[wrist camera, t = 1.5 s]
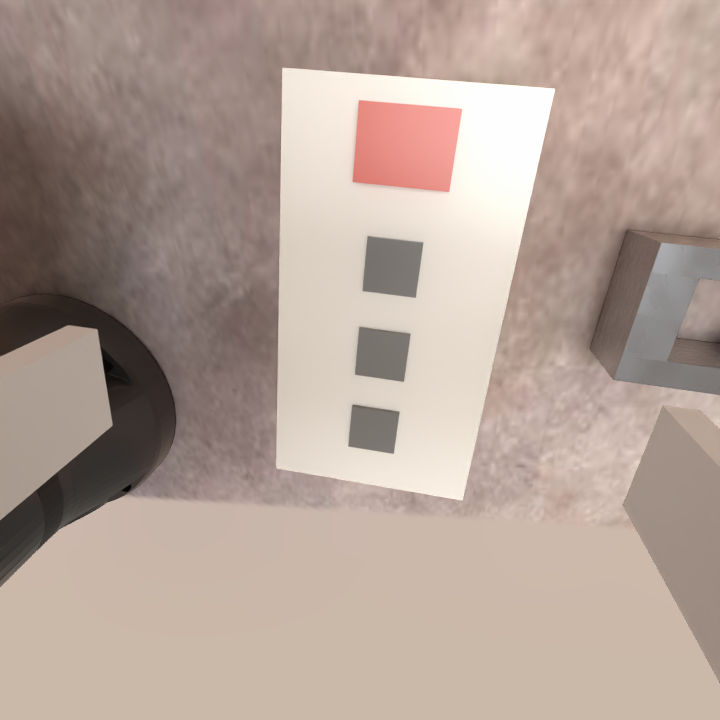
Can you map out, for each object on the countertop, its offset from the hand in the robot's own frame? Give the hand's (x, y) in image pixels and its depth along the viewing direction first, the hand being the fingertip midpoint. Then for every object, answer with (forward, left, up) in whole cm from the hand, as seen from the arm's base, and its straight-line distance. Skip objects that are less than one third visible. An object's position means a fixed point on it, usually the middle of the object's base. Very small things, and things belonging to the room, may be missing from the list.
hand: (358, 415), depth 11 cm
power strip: (0, 0, -16) cm, 16 cm away
